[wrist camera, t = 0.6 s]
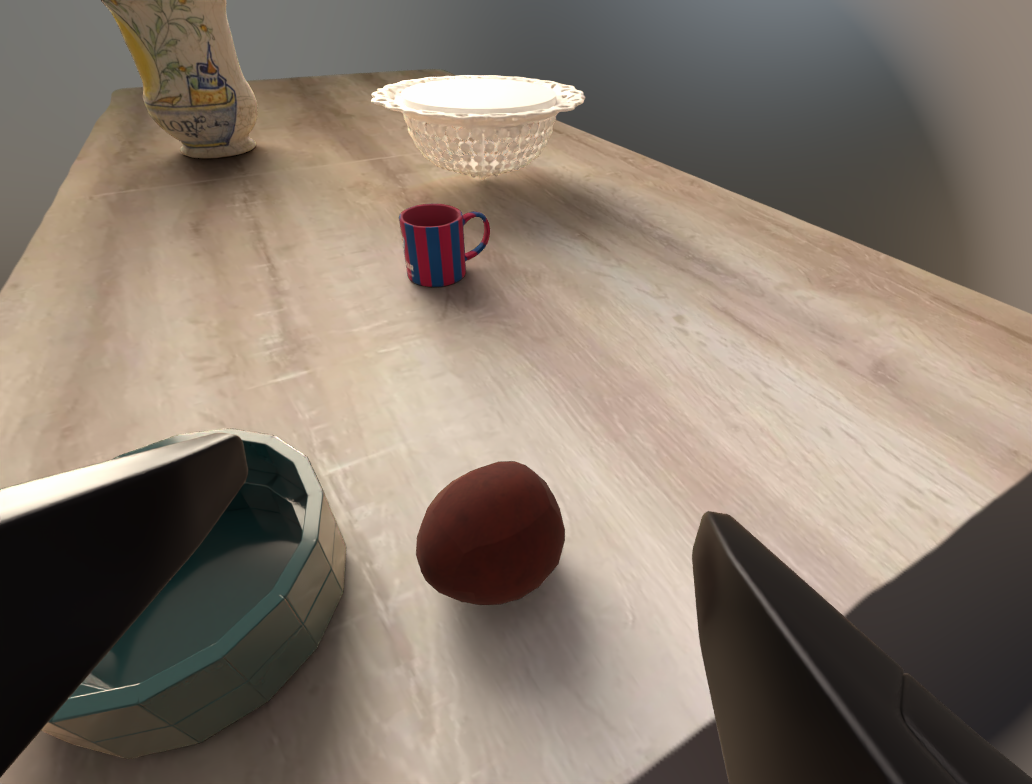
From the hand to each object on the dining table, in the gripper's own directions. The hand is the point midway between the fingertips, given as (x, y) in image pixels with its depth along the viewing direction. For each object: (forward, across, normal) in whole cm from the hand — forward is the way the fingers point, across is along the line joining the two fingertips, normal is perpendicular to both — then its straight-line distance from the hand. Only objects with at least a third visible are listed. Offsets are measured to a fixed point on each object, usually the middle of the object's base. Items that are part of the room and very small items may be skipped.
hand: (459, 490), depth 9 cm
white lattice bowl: (+78, +18, -4) cm, 81 cm away
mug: (+48, +14, +6) cm, 50 cm away
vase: (+85, +71, -5) cm, 111 cm away
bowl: (+10, +16, +17) cm, 26 cm away
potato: (+14, +1, +16) cm, 21 cm away
